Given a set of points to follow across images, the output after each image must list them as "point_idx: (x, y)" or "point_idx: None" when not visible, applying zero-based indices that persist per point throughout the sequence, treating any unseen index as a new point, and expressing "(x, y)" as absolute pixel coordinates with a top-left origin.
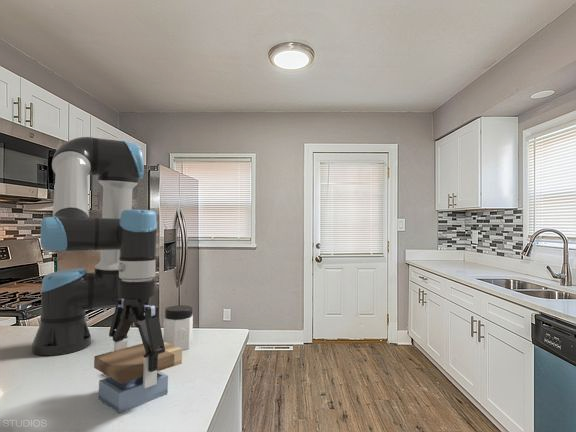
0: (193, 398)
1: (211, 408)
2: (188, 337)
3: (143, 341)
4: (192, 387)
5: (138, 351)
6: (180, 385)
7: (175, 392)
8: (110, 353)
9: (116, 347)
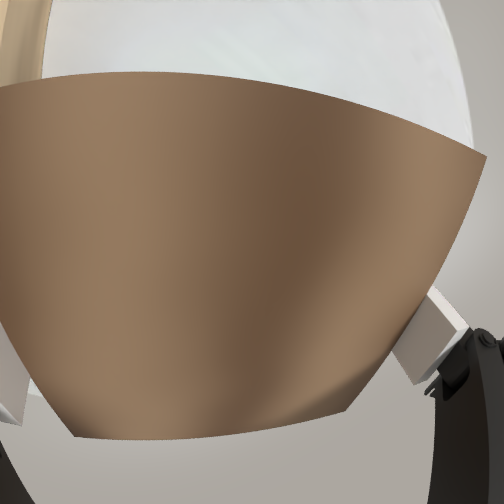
0: (410, 90)
1: (468, 123)
2: None
3: (443, 452)
4: (356, 12)
5: (171, 302)
6: (297, 13)
7: (328, 76)
8: (73, 405)
9: (24, 391)
